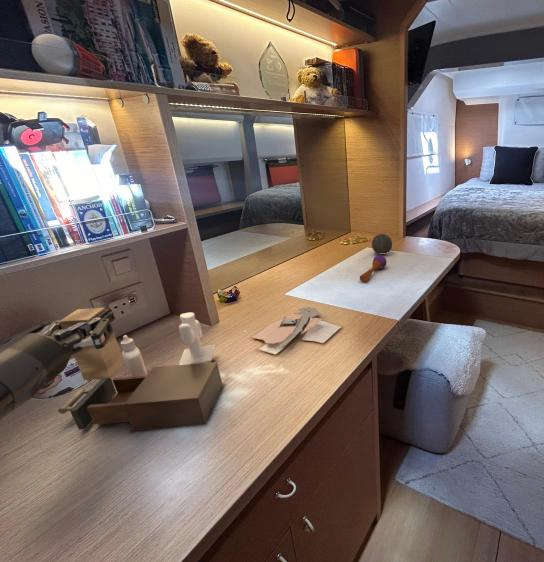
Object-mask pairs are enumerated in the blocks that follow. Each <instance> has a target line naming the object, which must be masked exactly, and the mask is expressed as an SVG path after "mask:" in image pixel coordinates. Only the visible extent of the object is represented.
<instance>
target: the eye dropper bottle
mask: <svg viewBox="0 0 544 562" xmlns="http://www.w3.org/2000/svg"><path fill="white" fill-rule="evenodd" d="M122 338H123V339H122V340H121V342H120V346H121V349H122V350H121V354H122V357H123V360H124V362H125V364H124V365H125V368H126V370H127V374H128V377H133V376H146V375H148V374H149V372H148V370H147V367H146V364H145V362H144V358H143V356H142V353H141V350H140V348H138V347H137V346H136V344H135V341H134V339H133V338H130V337H129V336H128V335H127V334H125V335H123V336H122Z"/></svg>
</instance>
